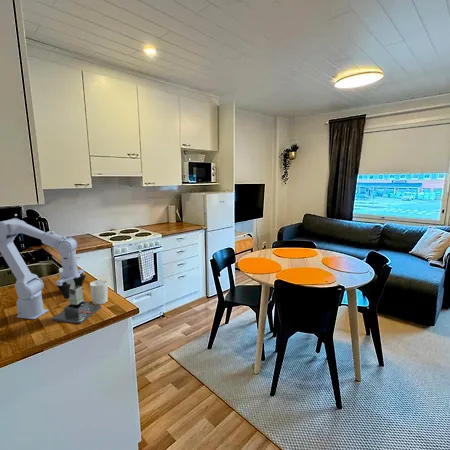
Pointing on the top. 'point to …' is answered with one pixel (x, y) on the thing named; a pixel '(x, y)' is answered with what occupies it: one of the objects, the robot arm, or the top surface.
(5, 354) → the top surface
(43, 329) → the top surface
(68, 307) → the gray frame
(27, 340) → the top surface
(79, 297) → the steel column
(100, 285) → the white cup
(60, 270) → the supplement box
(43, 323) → the top surface
